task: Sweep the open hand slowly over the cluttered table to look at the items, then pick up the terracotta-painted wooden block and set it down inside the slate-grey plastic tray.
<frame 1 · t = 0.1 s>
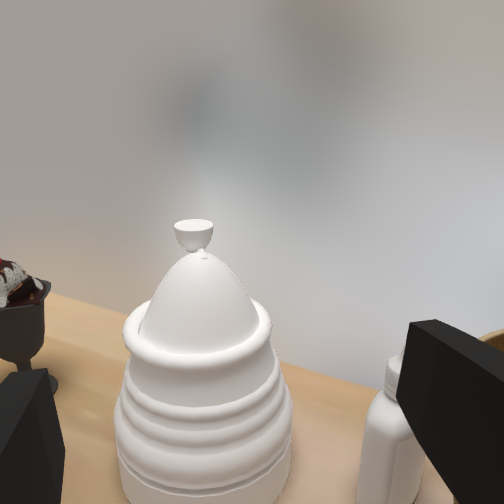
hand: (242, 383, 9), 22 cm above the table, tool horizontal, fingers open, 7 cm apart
sundae: (28, 393, 42), on the table
eye dropper bottle: (387, 495, 32), on the table
honey pot: (206, 458, 36), on the table
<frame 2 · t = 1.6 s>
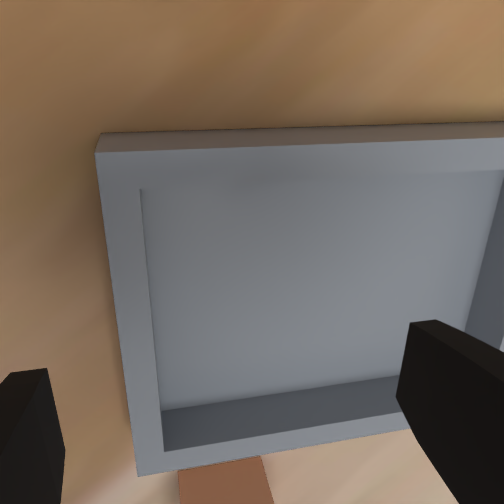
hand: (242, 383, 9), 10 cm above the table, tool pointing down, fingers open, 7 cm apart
block: (220, 490, 26), on the table
tray: (323, 280, 21), on the table
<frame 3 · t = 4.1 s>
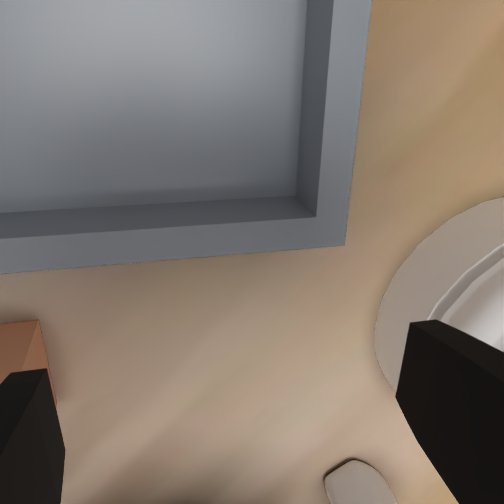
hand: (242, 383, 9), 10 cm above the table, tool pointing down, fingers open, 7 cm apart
eye dropper bottle: (354, 483, 29), on the table
tray: (68, 31, 15), on the table
honey pot: (484, 308, 25), on the table
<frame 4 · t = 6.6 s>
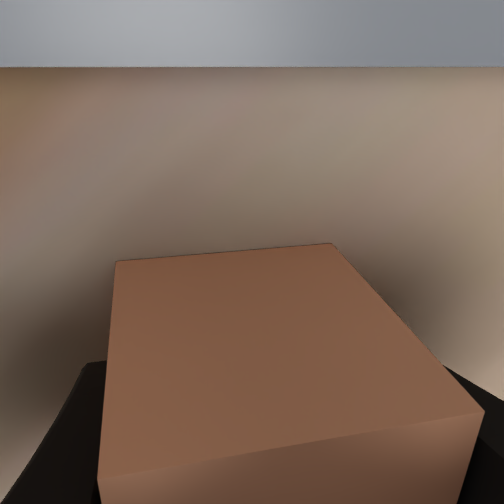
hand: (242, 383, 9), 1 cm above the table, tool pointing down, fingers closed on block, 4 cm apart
block: (229, 341, 11), on the table, touching gripper
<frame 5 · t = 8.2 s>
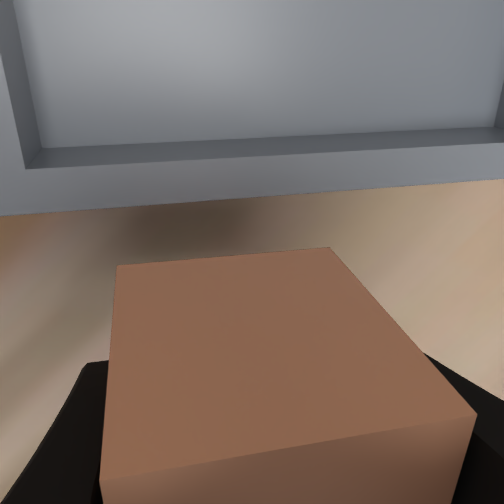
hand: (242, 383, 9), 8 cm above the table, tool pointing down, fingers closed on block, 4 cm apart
block: (228, 343, 11), point 7 cm above the table, touching gripper
when the fingers open (3 cm above the table, at t = 10.1 s): block drops 1 cm, resting on tray.
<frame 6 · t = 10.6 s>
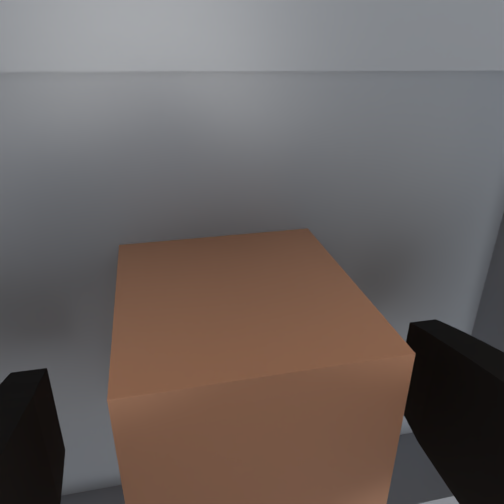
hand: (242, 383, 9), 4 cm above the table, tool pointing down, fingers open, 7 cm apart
block: (219, 316, 12), point 1 cm above the table, touching tray
tray: (216, 295, 12), on the table
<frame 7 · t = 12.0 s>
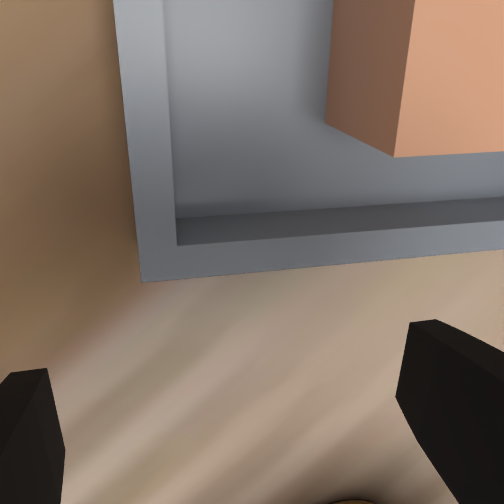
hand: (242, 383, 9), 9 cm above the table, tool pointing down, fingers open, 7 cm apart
block: (391, 53, 16), point 1 cm above the table, touching tray
tray: (384, 44, 16), on the table
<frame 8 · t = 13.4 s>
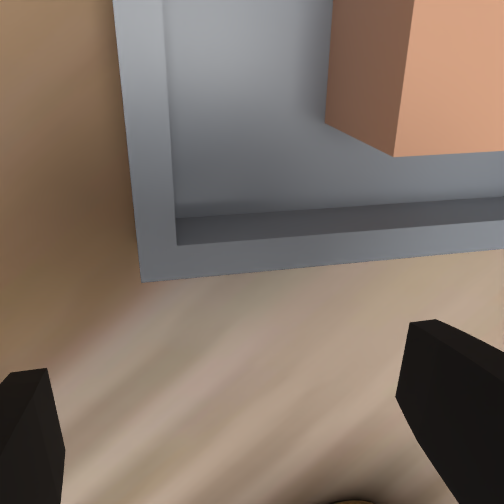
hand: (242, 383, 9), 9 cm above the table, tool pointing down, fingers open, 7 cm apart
block: (390, 53, 16), point 1 cm above the table, touching tray
tray: (383, 44, 16), on the table
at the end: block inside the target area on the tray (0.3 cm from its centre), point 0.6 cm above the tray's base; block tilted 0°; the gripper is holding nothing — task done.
